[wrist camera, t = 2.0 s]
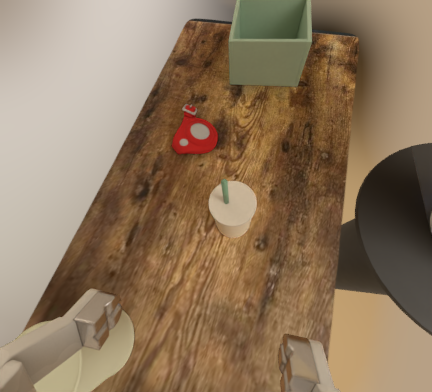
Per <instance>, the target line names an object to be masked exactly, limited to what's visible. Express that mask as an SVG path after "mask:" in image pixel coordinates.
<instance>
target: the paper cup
mask: <svg viewBox="0 0 432 392" xmlns="http://www.w3.org/2000/svg"><path fill="white" fill-rule="evenodd" d="M256 206H257V201H256V196H255V194H254V192H253V191H252V190H251V188H250V187H248V186H247V185H246V184H244V183H241V182H238V181H227V180H226V179H223V180H222V181H221V184H220V185H218V186H217V187H216V188H215V189H214V190H213V191H212V193H211V195H210V197H209V210H210V213H211V215H212V216H213V218H214V219H215V222H216V225H217V228H218V230H219V231H220V232H221V233H222V234H223V235H224V236H226V237H229V238H237V237H240V236H242V235H243V234H245V233H246V232H247V230H248V228H249V225H250V222H251V219H252V217H253V215H254V213H255V210H256Z"/></svg>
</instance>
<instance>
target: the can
mask: <svg viewBox="0 0 432 392" xmlns="http://www.w3.org/2000/svg"><path fill="white" fill-rule="evenodd" d="M49 322H50V321H46V322H42V323H38V324H36V325H34V326H32V327H30V328H28V329H27V330H25V331H24V332H23V333H22V334H20V335H19V336H18V337H17V338H16V339H18V338H20V337H22V336H24V335H25V334H27V333H29V332H31V331H33V330H35V329H37V328H39V327H41V326H43V325H45V324H47V323H49ZM16 339H15V340H16ZM133 344H134V328H133V324H132V321H131V319H130V317H129V316H128V315H127V313H126V312H124V311H123V310H122V313H121V316H120V319H119V321H118V323H117V324H116V326H115V327H114V328H112V329H111V330H109V337H108V338H107V340H106V341H105V343H104V344H103V346H102V347H101V349H100V350H96V349H91V348H87V347H83V346H82V347H83V348H82V349H80V350H79V351H78V352H76V353H75V354H74V355H72V356H71V357H70V358H68V359H67V360H66V361H64V362H63V363H62V364H61V365H59V366H58V367H57V368H55V369H54V370H53V371H51V372H50V373H49V374H47V375H46V376H45V377H43V378H42V379H41V380H39V381H38V382H37V383H35V384H34V387H35V389H36V391H37V392H91V391H92V390H93V389H95V388H96V387H97V386H98V385H100V384H101V383H102V382H103V381H105V380H106V379H107V378H109V377H110V376H112V375H114V374H115V373H117V372H118V371H119V370H120V369H121V368H122V367H123V366H124V365H125V363H126V362H127V360H128V358H129V356H130V354H131V352H132V348H133Z"/></svg>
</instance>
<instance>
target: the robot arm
mask: <svg viewBox="0 0 432 392" xmlns="http://www.w3.org/2000/svg"><path fill="white" fill-rule="evenodd" d="M430 228H431V233H432V212H431V216H430ZM120 300H121V299H120V295H116V294H112V293H108V292H104V291H101V290H96V289H92V288H91V289H89V290H88V291H87V292H86V293H85V294H84V295H83V296H82V297H81V298H80V299H79V300H78V301H77V302H76V303H75V304H74V305H73V306H72V308H71V309H70V310H69V311H68V312H67V313H66V314H65V315H64V316H63V317H58V318H56V319H54V320H52V321H50V322H49V323H47V324H45V325H43V326H41V327H39V328H37V329H35V330H33V331H31V332H29V333H27V334H25V335H24V336H22V337H20V338H18V339H16V340H14V341H12V342H10V343H8V344H7V345H5V346H2V347H0V392H37V391H36V389H35V387H34V384H35V383H37V382H38V381H39V380H41V379H42V378H43V377H45V376H46V375H47V374H49V373H50V372H51V371H53V370H54V369H55V368H57V367H58V366H59V365H61V364H62V363H63V362H64V361H66V360H67V359H68V358H70V357H71V356H72V355H74V354H75V353H76V352H78V351H79V350H80V349H82V348H83V347H87V348H91V349H96V350H100V349H101V347H102V346H103V344H104V343H105V341H106V340H107V338H108V337H109V330H111V329H112V328H114V327H115V326H116V324H117V323H118V321H119V319H120V316H121V313H122V306H121V305H120V304H119V302H120ZM82 346H83V347H82ZM278 363H279V369H280V371H281V373H282V377H281V380H280V385H281V392H340V390H339V389H336V388H335V387H334V384H333V380H332V377H331V374H330V370H329V367H328V363H327V360H326V356H325V353H324V350H323V346H322V344H321V342H319V341H315V340H311V339H307V338H303V337H299V336H294V335H289V334H284V336H283V343H282V344H280V348H279V354H278Z"/></svg>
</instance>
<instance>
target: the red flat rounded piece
mask: <svg viewBox="0 0 432 392" xmlns="http://www.w3.org/2000/svg"><path fill="white" fill-rule="evenodd" d="M182 110H183V111H184V119H183V121H182V124H181V126H180V127H179V129H178V130H177V132H176V134H175V136H174V138H173V143H172V147H173V149H174V150H175V151H176V152H177V154H202V153H208V152H210V151H212V150H213V149H214V148H215V146H216V144H217V140H218V134H217V131H216V129H215V128H214V126H213V125H212V124H211V123H209V122H208V121H206V120H204V119H201V118H196V115H195V114H196V112H197V109H196V107H193V106H192V104H191V105H187V104H185V106H184V107H183V108H182Z"/></svg>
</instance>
